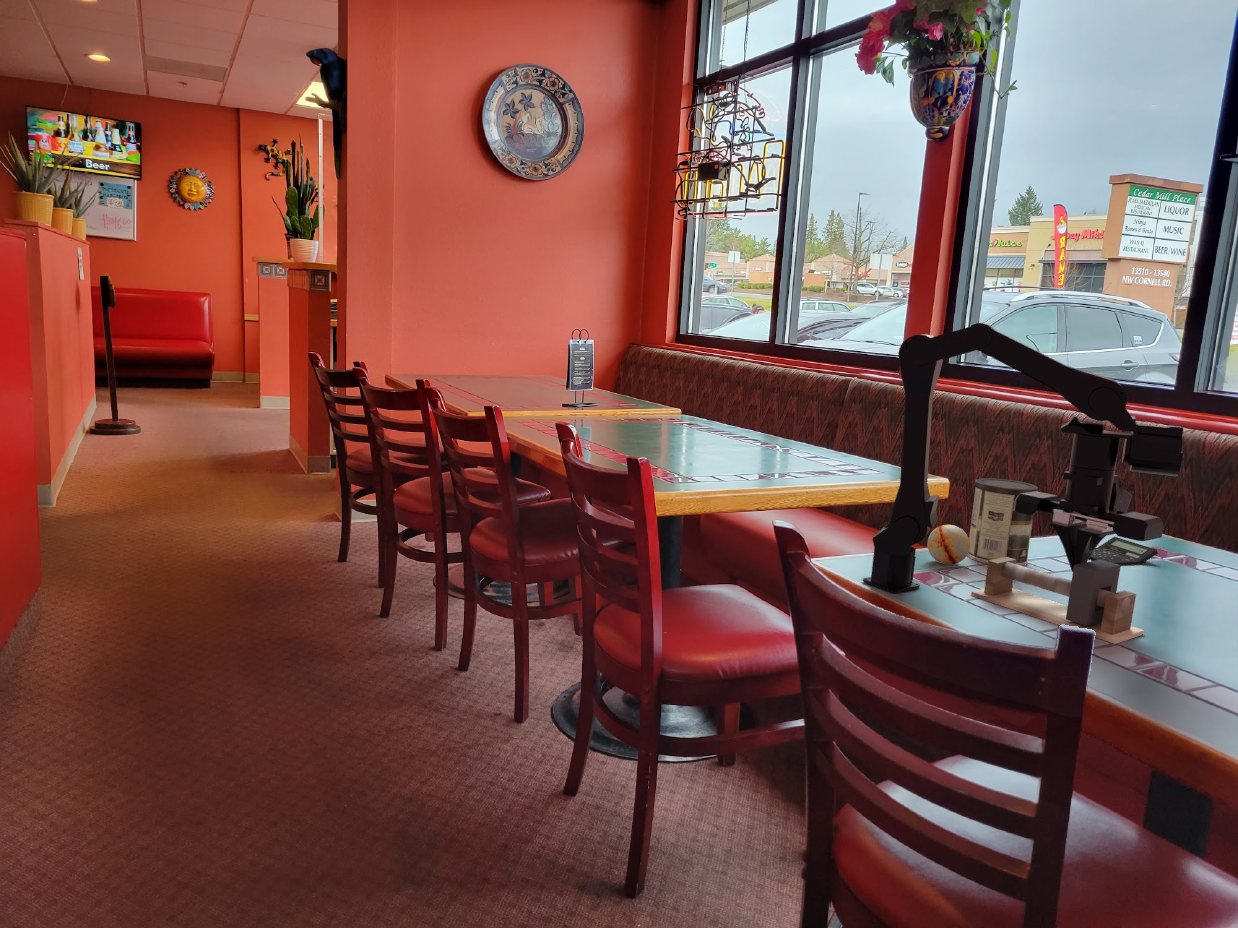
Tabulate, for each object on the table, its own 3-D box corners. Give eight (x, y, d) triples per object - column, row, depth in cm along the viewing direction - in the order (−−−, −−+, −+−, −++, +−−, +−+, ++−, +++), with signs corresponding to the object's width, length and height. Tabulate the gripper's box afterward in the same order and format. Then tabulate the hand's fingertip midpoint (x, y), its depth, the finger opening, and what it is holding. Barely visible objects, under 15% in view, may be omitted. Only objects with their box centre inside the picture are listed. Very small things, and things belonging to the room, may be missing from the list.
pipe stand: (1143, 634, 121) (1150, 594, 120) (1115, 643, 117) (1121, 602, 116) (1000, 588, 139) (1005, 553, 138) (970, 595, 135) (975, 559, 134)
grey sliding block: (1112, 618, 124) (1120, 564, 123) (1086, 625, 120) (1095, 571, 119) (1091, 611, 127) (1099, 559, 125) (1065, 619, 123) (1074, 565, 121)
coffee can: (1019, 554, 161) (1029, 480, 158) (1033, 570, 151) (1045, 491, 148) (961, 548, 163) (970, 475, 160) (971, 563, 153) (982, 486, 150)
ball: (973, 564, 152) (978, 526, 151) (959, 572, 147) (964, 532, 146) (933, 555, 157) (938, 518, 155) (919, 562, 151) (923, 524, 150)
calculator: (1066, 553, 165) (1068, 537, 165) (1113, 551, 169) (1116, 536, 168) (1107, 567, 156) (1109, 551, 156) (1155, 565, 160) (1158, 549, 159)
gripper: (1190, 475, 119) (1171, 583, 122) (1059, 453, 134) (1045, 549, 137) (1151, 480, 113) (1132, 594, 115) (1018, 456, 128) (1004, 558, 131)
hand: (1076, 572), depth 125 cm, fingers closed
